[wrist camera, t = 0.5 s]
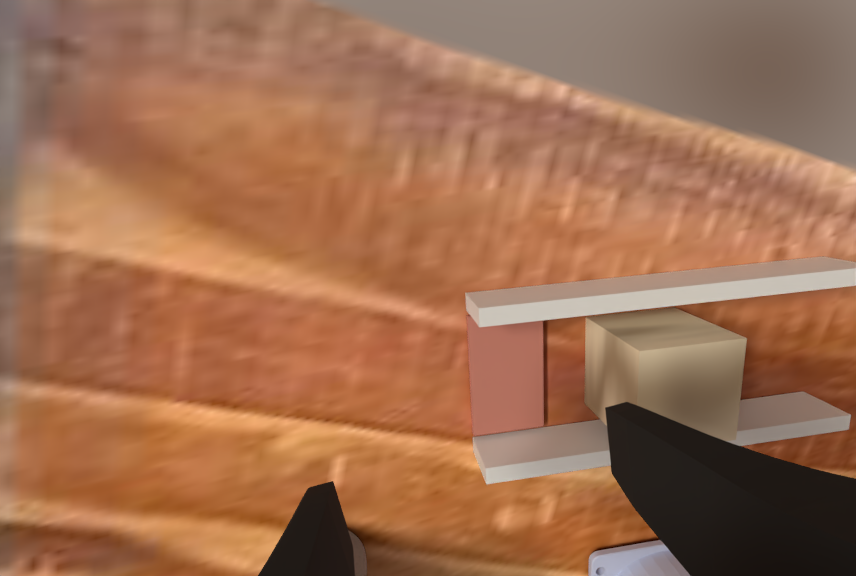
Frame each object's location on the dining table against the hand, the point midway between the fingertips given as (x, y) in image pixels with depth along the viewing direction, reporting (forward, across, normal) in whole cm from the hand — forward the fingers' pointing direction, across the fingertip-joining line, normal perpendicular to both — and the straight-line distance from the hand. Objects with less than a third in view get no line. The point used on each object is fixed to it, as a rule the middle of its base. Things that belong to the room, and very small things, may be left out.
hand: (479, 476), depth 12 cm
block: (+10, -10, +3) cm, 14 cm away
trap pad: (+10, -3, +3) cm, 11 cm away
